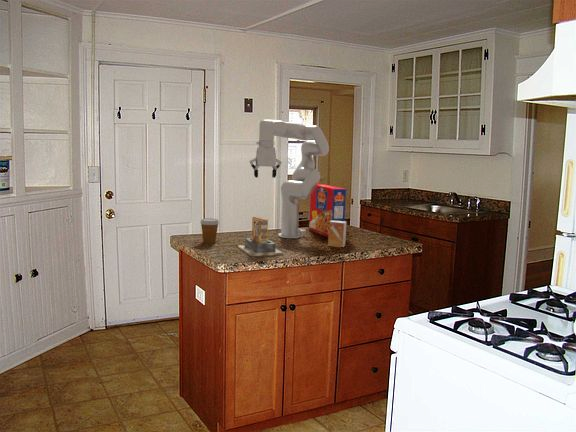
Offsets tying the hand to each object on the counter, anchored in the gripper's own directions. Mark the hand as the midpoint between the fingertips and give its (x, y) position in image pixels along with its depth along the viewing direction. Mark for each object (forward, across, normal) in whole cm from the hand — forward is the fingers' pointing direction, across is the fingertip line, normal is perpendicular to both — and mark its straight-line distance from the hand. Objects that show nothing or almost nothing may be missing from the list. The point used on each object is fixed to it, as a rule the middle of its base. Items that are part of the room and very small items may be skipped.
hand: (265, 177), depth 286 cm
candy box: (+34, -9, -21) cm, 41 cm away
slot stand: (+34, -9, -21) cm, 41 cm away
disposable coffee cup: (+34, -28, +4) cm, 45 cm away
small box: (+34, +35, -17) cm, 52 cm away
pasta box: (+35, +45, +17) cm, 59 cm away
